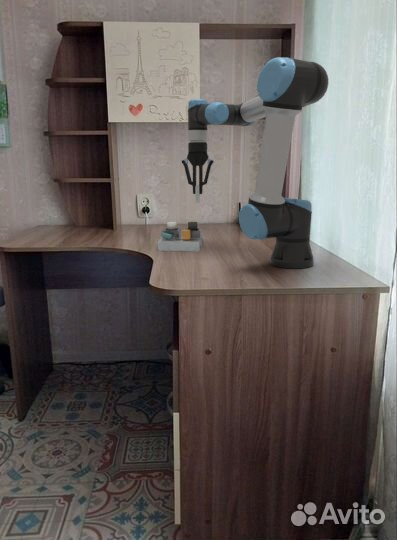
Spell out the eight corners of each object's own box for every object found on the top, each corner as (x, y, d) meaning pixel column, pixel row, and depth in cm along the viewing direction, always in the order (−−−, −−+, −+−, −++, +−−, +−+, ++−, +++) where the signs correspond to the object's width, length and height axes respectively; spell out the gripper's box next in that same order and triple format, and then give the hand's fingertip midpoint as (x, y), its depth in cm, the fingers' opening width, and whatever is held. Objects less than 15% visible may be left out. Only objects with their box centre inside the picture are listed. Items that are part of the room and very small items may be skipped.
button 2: (196, 230, 179) (196, 223, 179) (187, 230, 180) (187, 222, 179) (197, 228, 183) (197, 221, 182) (188, 228, 184) (188, 221, 183)
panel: (199, 251, 172) (199, 234, 170) (157, 250, 174) (157, 233, 172) (203, 244, 186) (202, 228, 184) (164, 243, 188) (164, 227, 186)
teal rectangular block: (170, 238, 175) (171, 235, 174) (161, 236, 175) (161, 233, 175) (171, 237, 177) (172, 234, 177) (162, 235, 177) (162, 232, 177)
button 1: (175, 229, 180) (175, 222, 180) (166, 229, 181) (166, 222, 180) (177, 228, 184) (177, 221, 183) (168, 228, 185) (168, 221, 184)
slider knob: (189, 239, 174) (189, 230, 173) (182, 239, 174) (182, 230, 173) (190, 238, 176) (190, 229, 176) (183, 238, 177) (183, 229, 176)
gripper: (214, 142, 170) (214, 201, 176) (182, 142, 171) (183, 201, 178) (213, 141, 163) (212, 203, 169) (179, 141, 164) (180, 203, 171)
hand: (197, 202), depth 173 cm, fingers closed
